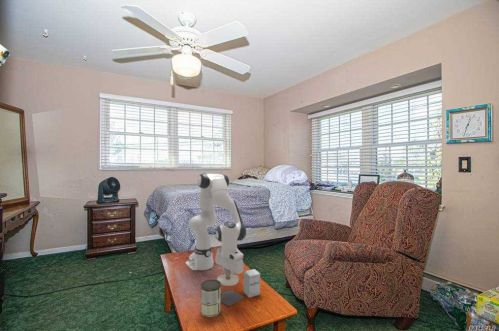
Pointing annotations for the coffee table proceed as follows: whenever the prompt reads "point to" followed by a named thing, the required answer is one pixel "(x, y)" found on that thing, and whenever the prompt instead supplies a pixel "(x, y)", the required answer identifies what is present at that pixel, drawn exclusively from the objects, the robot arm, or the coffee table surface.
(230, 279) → the lid
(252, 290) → the supplement box
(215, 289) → the coffee can
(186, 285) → the coffee table surface
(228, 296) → the mat
